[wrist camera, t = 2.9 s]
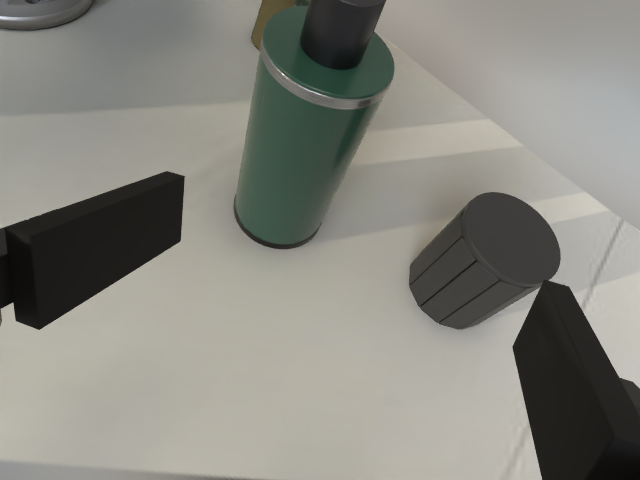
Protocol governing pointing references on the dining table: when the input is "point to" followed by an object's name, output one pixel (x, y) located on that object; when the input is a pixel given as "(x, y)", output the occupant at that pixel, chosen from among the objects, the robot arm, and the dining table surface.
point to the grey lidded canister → (484, 261)
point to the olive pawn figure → (267, 17)
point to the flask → (308, 115)
